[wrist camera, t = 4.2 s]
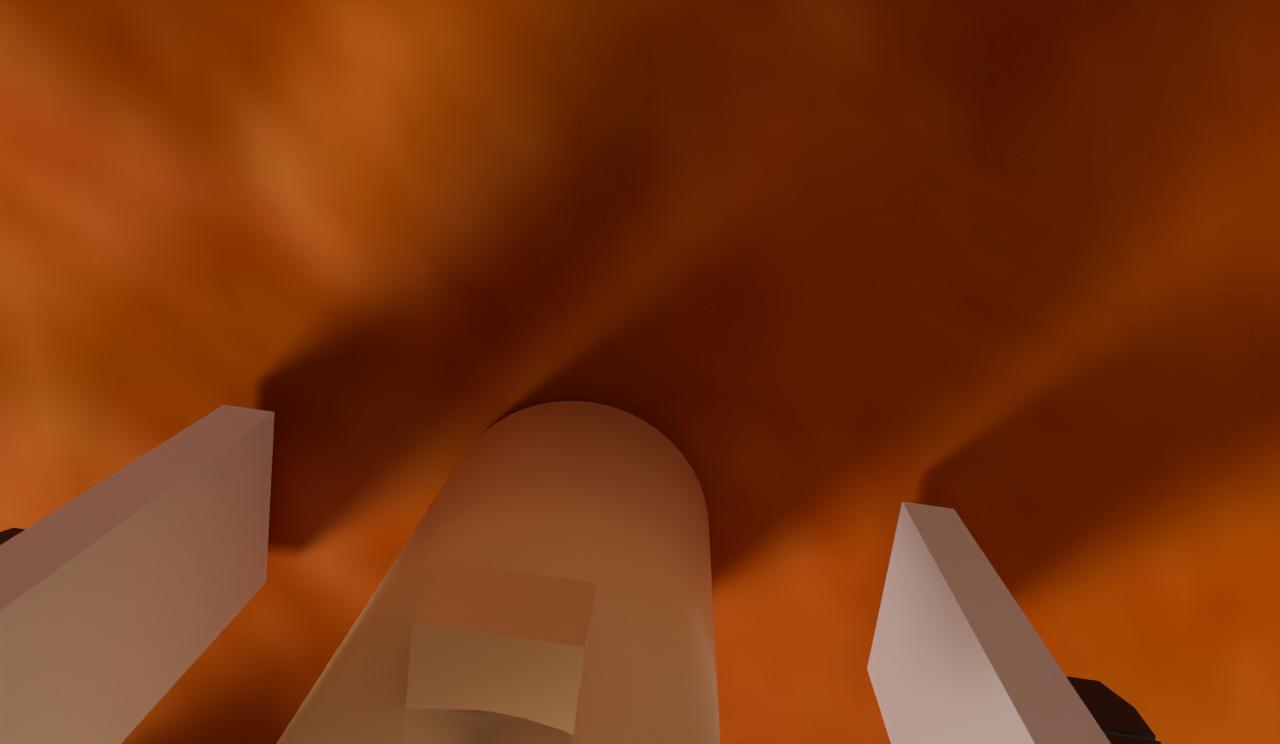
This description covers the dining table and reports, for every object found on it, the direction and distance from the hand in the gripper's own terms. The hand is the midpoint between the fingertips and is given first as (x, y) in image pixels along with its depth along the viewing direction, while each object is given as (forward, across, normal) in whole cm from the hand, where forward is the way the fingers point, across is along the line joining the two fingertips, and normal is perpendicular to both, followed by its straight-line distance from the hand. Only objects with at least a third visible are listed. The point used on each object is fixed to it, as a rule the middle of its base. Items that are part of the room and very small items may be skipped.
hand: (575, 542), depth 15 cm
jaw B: (0, 0, 0) cm, 0 cm away
